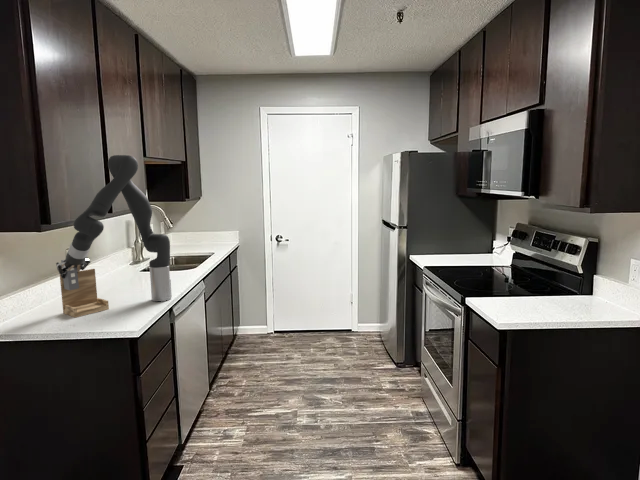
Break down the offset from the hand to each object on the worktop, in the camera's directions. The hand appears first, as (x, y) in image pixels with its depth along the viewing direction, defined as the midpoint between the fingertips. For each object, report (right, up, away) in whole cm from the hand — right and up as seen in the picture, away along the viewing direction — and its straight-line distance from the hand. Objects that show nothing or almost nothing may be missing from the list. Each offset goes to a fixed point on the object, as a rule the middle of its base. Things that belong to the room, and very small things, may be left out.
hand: (68, 275), depth 187 cm
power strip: (+2, -6, 0) cm, 6 cm away
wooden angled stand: (+6, -17, +5) cm, 18 cm away
